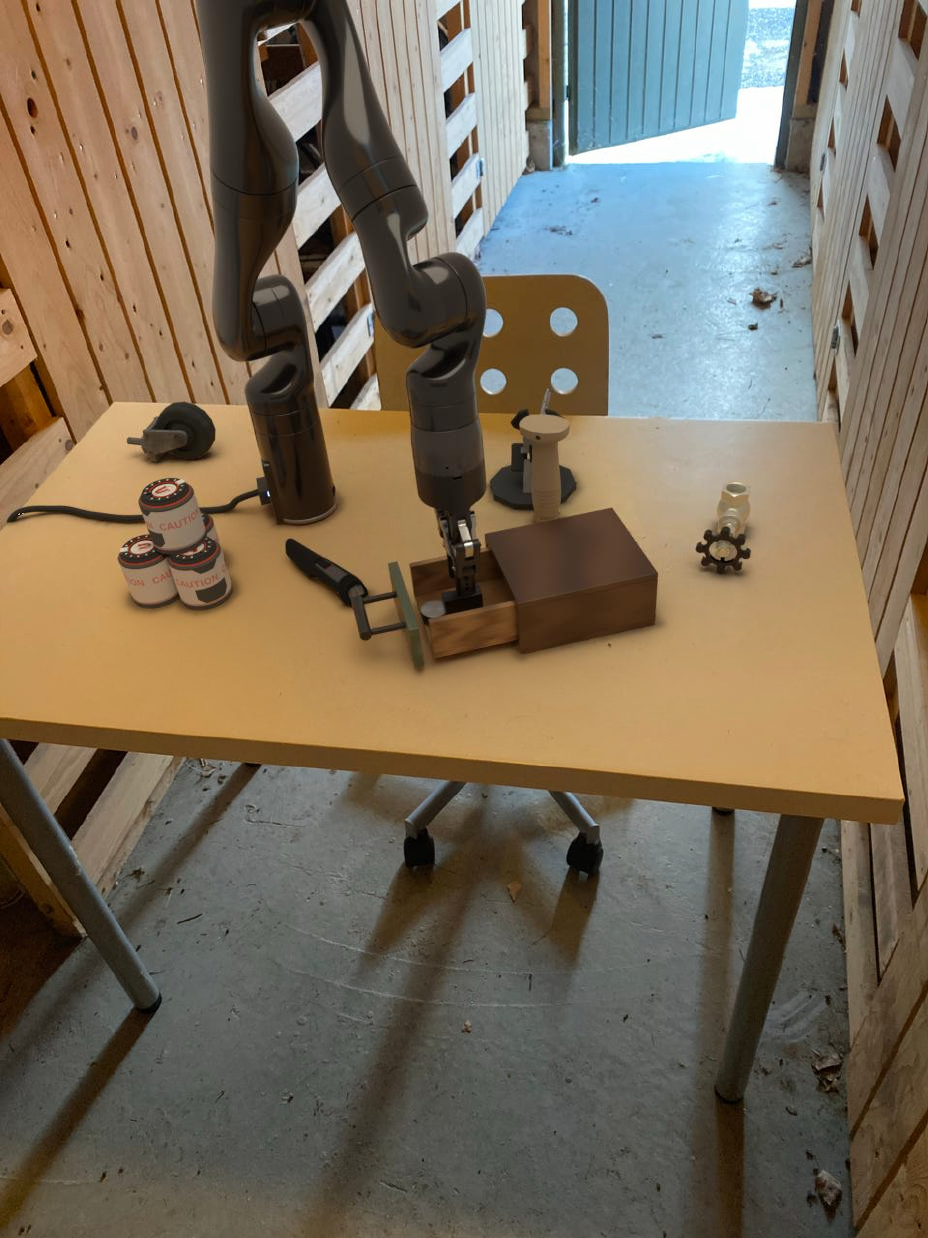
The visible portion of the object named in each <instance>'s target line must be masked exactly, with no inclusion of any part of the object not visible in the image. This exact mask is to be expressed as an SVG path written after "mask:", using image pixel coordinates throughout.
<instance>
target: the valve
mask: <svg viewBox="0 0 928 1238" xmlns="http://www.w3.org/2000/svg"><path fill="white" fill-rule="evenodd" d="M750 493H751V486H750V485H749V484H747V483H745V482H742V481H739V480H735V481H734V480H733V481H728V482H725V483H723V486H722V489H721V496H720V500H719V501H718V504H717V506H716V514H717V518H718V521H717V530H716V531H717V533H718V534H713V533H714V532H713V530H711V529H706V530H705V531H704V533H703V536H702V538H703V540H704V541H705V543H704V544H703V543H702V542H703V541H698V542H697V543H696V544H695V545H696V546H695V549H694V551H695V552H696V553H697V554H704V555H703V556H702V557H701V560H700V564H701V566H702V567H706V568H707V567H709V566H710V565H711V564H712V565H714V566H716V568H715V572H716V573H717V574H718V575H723V574H724V573H726V569H727V567H731V568H732V570H733V571H734V572H740V571H741V570H742V569H743V565H744V564H743V561H742V560H741V561H740V559H743V560H749V559H750V558H751V556H752V555H751V554H752V550H751V549H750V548H749V547H746V548H745V549H743V548H742V546H744V545H745V544H746V540H747V536H746V535H745V534H744V533H745V530H746V523H747V520H748V519H749V517H750V513H751V504H750V501H749V498H750ZM714 543H716V544H715V554H716V555H717V556H719V557H720V558H719V559H718V558H716V557H715V556H713V554H712V553H711V550H710V547H711V546H712V545H713V544H714ZM733 548H735V550H736V553H735V556H734V557H732V558H731V559H727V560H726V557H728V556H730V554H731V552H732V550H733Z"/></svg>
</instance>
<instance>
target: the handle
mask: <svg viewBox="0 0 928 1238" xmlns="http://www.w3.org/2000/svg"><path fill="white" fill-rule="evenodd" d="M564 418H565V417H563V418H561V417H558V416H553V415H545V414H540V413H539V414H529V416H527V417H525V418H523V419H522V420H521V421H520V424H519V425H520V430H519V433H520V436H522V438H523V437H525V438H527V439H528V440H530V441H532V480H531V490H532V502H533V508H534V510H533V511H534V514H533V515H534V520H535V523H539V522H544V521H549V520H554V519H559V518H560V509H561V504H560V501H561V480H560V469H559V465H560V459H559V457H560V456H559V442H561V441H563V440H564V439H566V438H567V437H568V436H569V434H570V428H571V427H570V425H571V424H570V421H569V420H568V419H566V418H565V419H564Z"/></svg>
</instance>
